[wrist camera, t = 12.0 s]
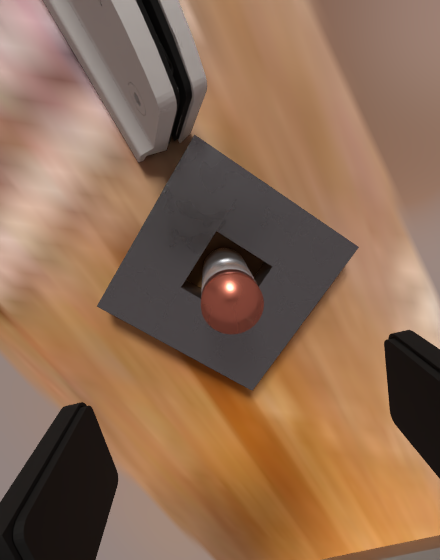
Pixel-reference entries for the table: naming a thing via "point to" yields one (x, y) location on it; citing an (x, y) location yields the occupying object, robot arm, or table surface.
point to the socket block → (241, 230)
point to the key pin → (229, 293)
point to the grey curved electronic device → (137, 65)
